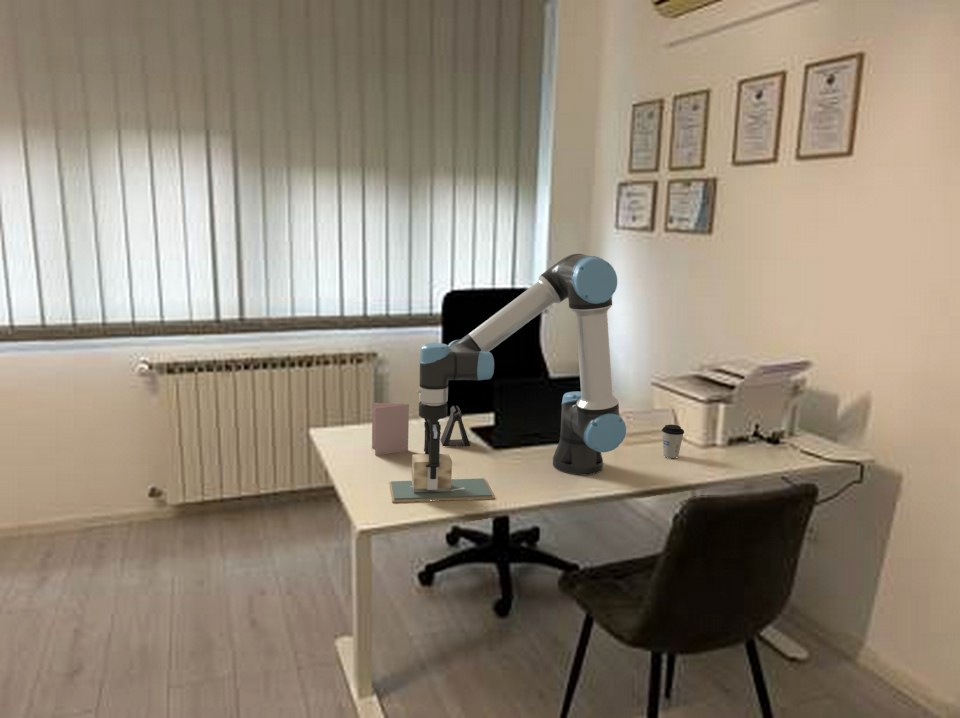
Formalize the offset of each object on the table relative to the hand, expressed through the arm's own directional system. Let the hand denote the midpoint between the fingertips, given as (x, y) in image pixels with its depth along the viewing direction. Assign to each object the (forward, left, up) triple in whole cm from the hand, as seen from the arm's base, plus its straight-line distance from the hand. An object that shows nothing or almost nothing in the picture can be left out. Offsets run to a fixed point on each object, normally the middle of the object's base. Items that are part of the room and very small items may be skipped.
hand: (430, 484), depth 199 cm
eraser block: (0, 0, -1) cm, 1 cm away
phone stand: (-13, -40, -2) cm, 42 cm away
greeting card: (+9, -33, -2) cm, 34 cm away
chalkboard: (-3, 0, -2) cm, 3 cm away
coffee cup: (-80, -22, -2) cm, 83 cm away
